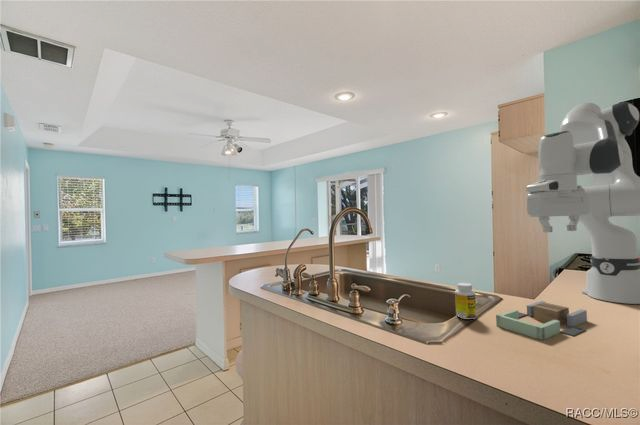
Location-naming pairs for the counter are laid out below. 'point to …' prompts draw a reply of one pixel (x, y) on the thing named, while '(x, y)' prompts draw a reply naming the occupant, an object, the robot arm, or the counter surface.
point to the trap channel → (540, 331)
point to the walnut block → (550, 312)
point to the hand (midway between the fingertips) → (560, 231)
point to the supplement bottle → (465, 301)
